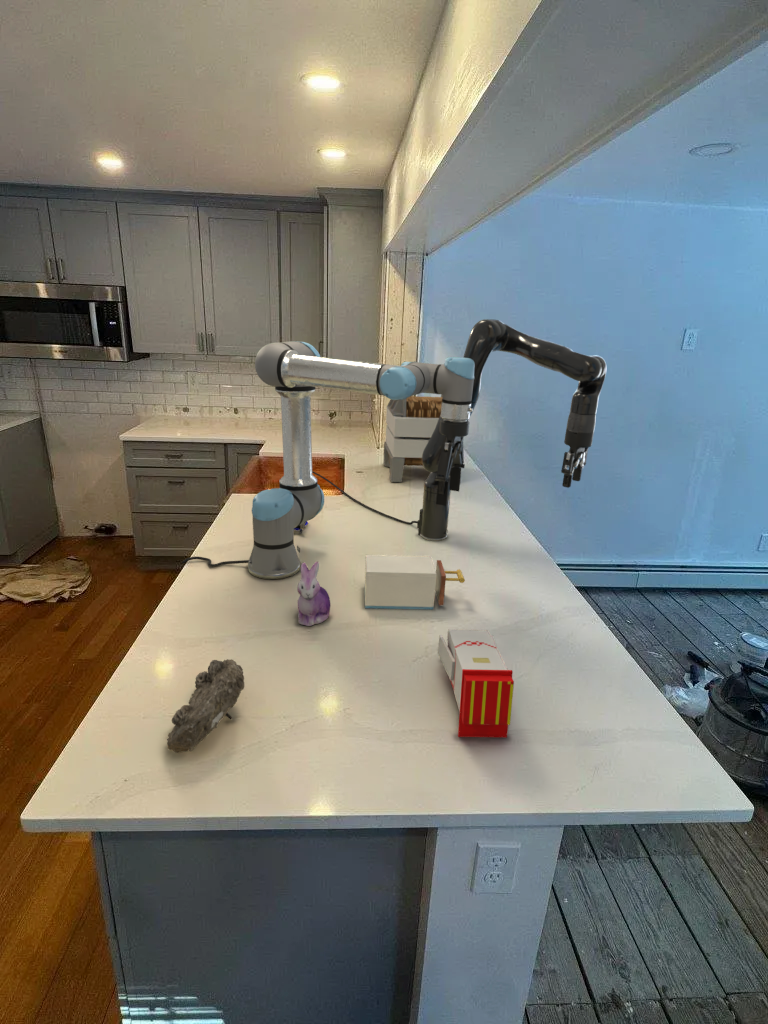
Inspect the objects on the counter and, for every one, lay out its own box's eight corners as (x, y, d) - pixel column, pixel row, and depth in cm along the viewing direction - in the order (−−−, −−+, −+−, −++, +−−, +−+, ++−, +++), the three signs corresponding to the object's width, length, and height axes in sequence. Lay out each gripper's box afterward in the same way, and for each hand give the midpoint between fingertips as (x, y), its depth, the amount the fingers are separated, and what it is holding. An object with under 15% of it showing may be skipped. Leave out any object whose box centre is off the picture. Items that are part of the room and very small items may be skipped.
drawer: (458, 588, 160) (460, 560, 157) (464, 605, 151) (467, 576, 148) (378, 586, 159) (379, 558, 156) (379, 604, 150) (381, 574, 147)
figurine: (302, 631, 137) (302, 575, 132) (289, 611, 146) (288, 558, 141) (338, 623, 142) (339, 568, 137) (323, 604, 150) (323, 552, 145)
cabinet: (428, 590, 161) (431, 555, 157) (433, 609, 151) (436, 573, 147) (364, 588, 160) (365, 554, 156) (364, 608, 150) (366, 571, 146)
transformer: (382, 463, 289) (386, 382, 275) (445, 464, 293) (451, 384, 279) (390, 482, 257) (394, 392, 243) (460, 483, 261) (468, 394, 247)
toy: (488, 613, 130) (523, 677, 101) (484, 667, 133) (517, 744, 104) (435, 612, 130) (455, 676, 101) (432, 666, 133) (451, 743, 103)
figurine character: (305, 539, 194) (310, 519, 208) (305, 520, 191) (310, 501, 204) (286, 539, 194) (292, 519, 208) (285, 519, 191) (291, 500, 204)
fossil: (192, 660, 117) (244, 628, 112) (224, 691, 120) (276, 661, 115) (142, 746, 98) (202, 712, 93) (182, 779, 101) (242, 748, 96)
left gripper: (457, 429, 134) (450, 513, 141) (479, 413, 156) (471, 487, 164) (427, 425, 137) (421, 508, 144) (452, 410, 159) (446, 483, 166)
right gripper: (575, 423, 167) (566, 476, 173) (558, 430, 156) (549, 486, 162) (601, 427, 163) (591, 481, 169) (585, 434, 152) (576, 492, 158)
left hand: (448, 497), depth 154 cm, fingers open, 13 cm apart
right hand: (571, 483), depth 165 cm, fingers open, 8 cm apart
